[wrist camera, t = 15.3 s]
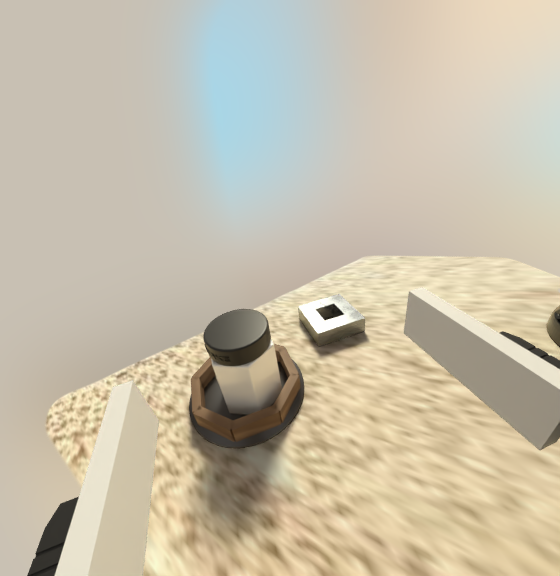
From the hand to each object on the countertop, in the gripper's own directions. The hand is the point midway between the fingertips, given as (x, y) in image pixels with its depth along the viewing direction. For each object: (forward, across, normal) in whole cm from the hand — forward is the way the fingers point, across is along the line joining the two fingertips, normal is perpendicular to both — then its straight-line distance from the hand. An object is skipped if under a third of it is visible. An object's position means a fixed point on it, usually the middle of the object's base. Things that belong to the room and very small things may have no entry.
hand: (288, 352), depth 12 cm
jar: (+18, -2, -23) cm, 29 cm away
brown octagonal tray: (+19, -3, -23) cm, 30 cm away
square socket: (+27, +15, -24) cm, 39 cm away
